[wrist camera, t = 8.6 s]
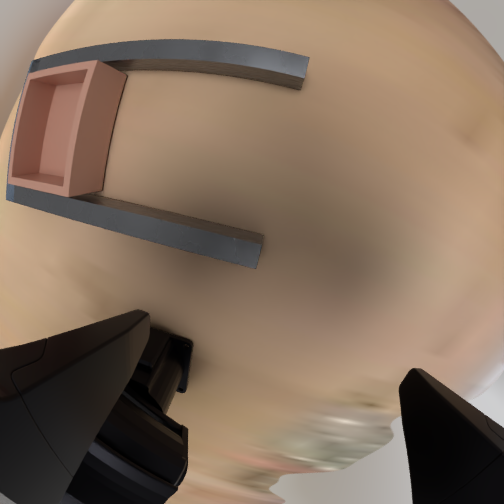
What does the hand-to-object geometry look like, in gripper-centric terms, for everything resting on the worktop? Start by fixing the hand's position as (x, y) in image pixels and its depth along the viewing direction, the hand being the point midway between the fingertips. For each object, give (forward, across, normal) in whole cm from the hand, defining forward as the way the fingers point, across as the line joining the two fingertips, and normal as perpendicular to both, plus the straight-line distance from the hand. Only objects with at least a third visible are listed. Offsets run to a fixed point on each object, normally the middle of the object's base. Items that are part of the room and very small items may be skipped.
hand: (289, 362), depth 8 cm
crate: (+11, +18, -6) cm, 22 cm away
